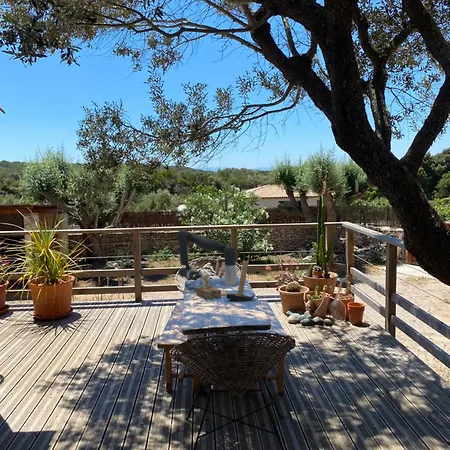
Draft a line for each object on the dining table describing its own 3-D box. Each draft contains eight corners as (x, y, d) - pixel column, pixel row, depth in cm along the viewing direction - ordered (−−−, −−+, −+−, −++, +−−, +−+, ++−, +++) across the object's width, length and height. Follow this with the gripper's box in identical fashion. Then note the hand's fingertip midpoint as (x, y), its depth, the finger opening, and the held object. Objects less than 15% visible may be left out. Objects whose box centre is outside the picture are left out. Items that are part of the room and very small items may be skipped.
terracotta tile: (221, 291, 342) (221, 290, 342) (229, 294, 332) (229, 293, 331) (213, 292, 338) (213, 291, 338) (220, 296, 328) (220, 294, 328)
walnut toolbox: (210, 293, 338) (210, 285, 338) (220, 297, 322) (220, 289, 322) (196, 295, 332) (196, 287, 332) (206, 300, 317) (206, 292, 316)
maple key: (207, 294, 334) (206, 274, 332) (209, 295, 330) (209, 275, 329) (202, 295, 332) (202, 274, 330) (205, 296, 328) (204, 275, 327)
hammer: (252, 302, 316) (259, 263, 314) (253, 304, 311) (260, 264, 309) (226, 298, 315) (232, 258, 313) (226, 299, 310) (233, 259, 308)
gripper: (184, 271, 347) (193, 274, 333) (200, 269, 354) (209, 272, 340) (185, 280, 348) (193, 284, 333) (200, 278, 354) (209, 281, 340)
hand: (201, 278), depth 337 cm, fingers open, 8 cm apart
